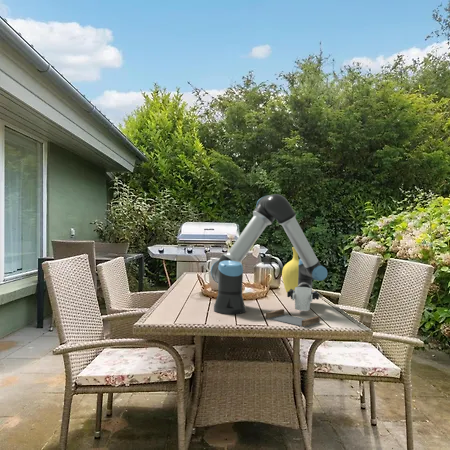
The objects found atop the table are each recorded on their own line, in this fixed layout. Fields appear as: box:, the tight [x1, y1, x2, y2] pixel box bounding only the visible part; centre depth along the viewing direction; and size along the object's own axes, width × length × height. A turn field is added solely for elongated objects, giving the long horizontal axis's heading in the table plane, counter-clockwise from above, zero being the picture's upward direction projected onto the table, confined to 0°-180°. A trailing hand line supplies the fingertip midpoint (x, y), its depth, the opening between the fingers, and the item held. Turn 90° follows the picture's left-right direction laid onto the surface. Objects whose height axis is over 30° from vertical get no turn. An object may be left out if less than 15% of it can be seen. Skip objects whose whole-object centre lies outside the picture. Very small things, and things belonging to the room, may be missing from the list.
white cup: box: [294, 287, 313, 312], centre depth 192 cm, size 8×8×10 cm
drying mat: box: [265, 313, 321, 328], centre depth 179 cm, size 20×12×1 cm, turn 47°
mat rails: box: [265, 308, 321, 327], centre depth 179 cm, size 20×12×2 cm, turn 47°
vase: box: [281, 246, 300, 293], centre depth 254 cm, size 16×16×28 cm
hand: (302, 298), depth 187 cm, fingers closed on white cup, 7 cm apart
